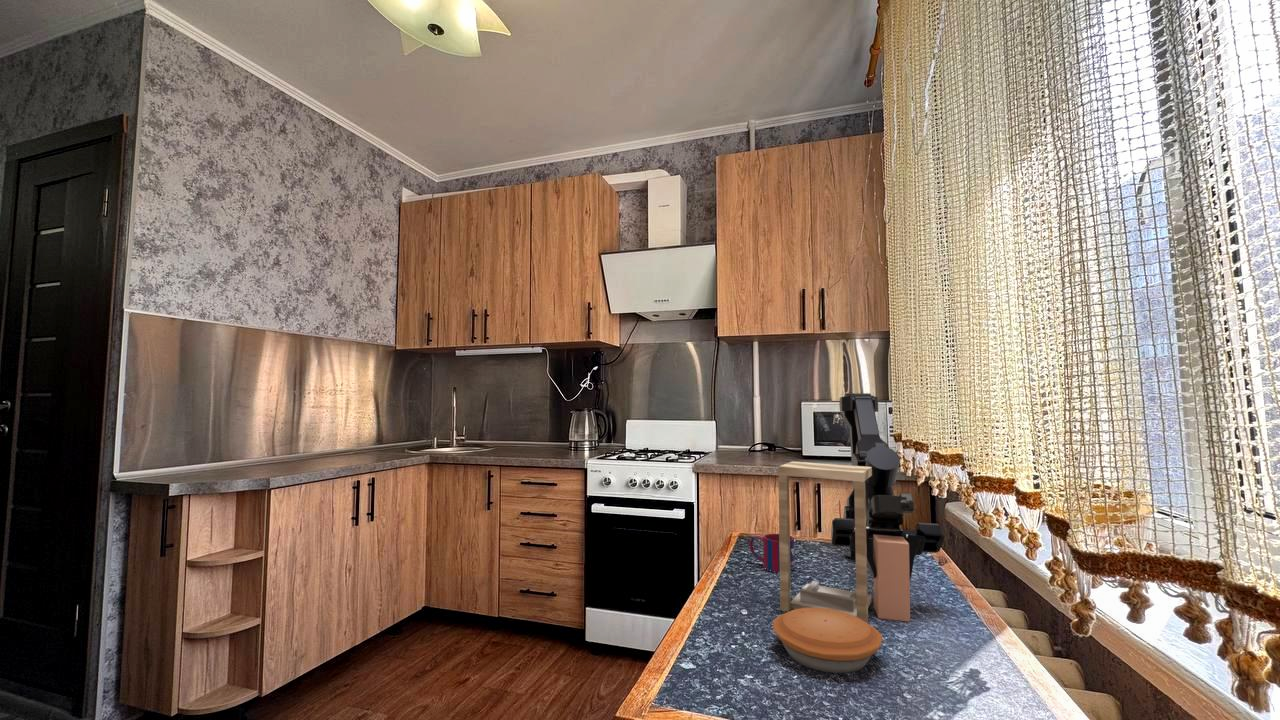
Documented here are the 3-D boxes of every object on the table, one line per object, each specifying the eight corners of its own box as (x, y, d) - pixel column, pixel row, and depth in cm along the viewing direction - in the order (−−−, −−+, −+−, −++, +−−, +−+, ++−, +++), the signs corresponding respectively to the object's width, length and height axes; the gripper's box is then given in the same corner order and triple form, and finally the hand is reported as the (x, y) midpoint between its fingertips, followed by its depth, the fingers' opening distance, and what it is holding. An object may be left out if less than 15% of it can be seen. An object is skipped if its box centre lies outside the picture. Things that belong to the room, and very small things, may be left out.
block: (873, 607, 99) (873, 534, 100) (903, 610, 98) (902, 536, 99) (878, 618, 94) (877, 541, 95) (910, 621, 93) (909, 544, 94)
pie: (786, 625, 92) (785, 594, 92) (886, 645, 85) (886, 612, 85) (760, 664, 78) (759, 629, 79) (877, 693, 71) (876, 653, 71)
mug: (787, 575, 117) (786, 543, 117) (744, 566, 123) (744, 535, 123) (799, 567, 122) (799, 536, 122) (758, 559, 128) (758, 529, 129)
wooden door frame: (801, 587, 109) (799, 458, 111) (879, 601, 102) (876, 463, 103) (780, 610, 98) (778, 466, 99) (866, 628, 90) (863, 472, 92)
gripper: (831, 474, 104) (838, 549, 92) (939, 479, 99) (961, 558, 88) (828, 508, 111) (834, 582, 100) (929, 514, 106) (948, 591, 95)
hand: (892, 578), depth 95 cm, fingers closed on block, 5 cm apart
